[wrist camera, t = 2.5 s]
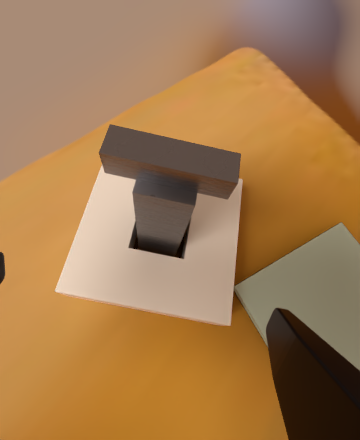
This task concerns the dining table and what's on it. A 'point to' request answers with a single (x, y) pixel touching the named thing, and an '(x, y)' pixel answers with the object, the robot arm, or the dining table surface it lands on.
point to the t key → (167, 181)
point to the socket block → (154, 257)
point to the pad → (313, 290)
